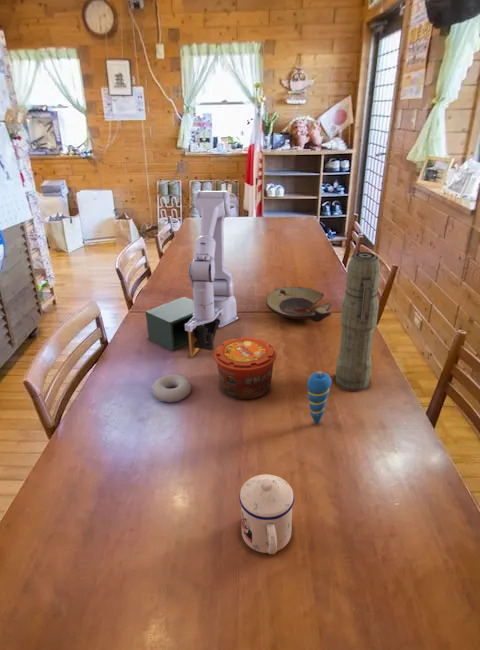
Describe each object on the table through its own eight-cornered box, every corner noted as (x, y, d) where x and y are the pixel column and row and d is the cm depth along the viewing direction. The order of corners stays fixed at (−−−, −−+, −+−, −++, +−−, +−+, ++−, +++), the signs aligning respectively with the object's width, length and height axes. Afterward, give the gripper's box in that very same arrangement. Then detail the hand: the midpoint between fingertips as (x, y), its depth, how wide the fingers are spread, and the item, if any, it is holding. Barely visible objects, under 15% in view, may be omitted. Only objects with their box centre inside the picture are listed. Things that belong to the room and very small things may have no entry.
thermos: (361, 368, 126) (374, 246, 111) (375, 393, 116) (393, 262, 101) (329, 370, 126) (339, 248, 111) (341, 395, 115) (354, 263, 100)
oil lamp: (319, 297, 172) (320, 278, 169) (342, 333, 145) (344, 311, 142) (261, 300, 171) (261, 281, 167) (273, 337, 144) (274, 315, 140)
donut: (187, 406, 112) (195, 382, 121) (186, 394, 111) (194, 372, 120) (148, 404, 113) (158, 381, 122) (146, 393, 112) (157, 370, 120)
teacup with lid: (238, 513, 83) (236, 464, 78) (287, 508, 83) (289, 460, 78) (244, 574, 72) (243, 522, 67) (300, 569, 73) (303, 517, 68)
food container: (202, 387, 119) (200, 351, 115) (244, 363, 130) (243, 330, 125) (247, 412, 109) (247, 374, 105) (288, 384, 120) (289, 348, 115)
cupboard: (210, 333, 147) (208, 306, 143) (172, 351, 137) (170, 322, 133) (185, 322, 155) (183, 296, 150) (148, 338, 144) (145, 311, 140)
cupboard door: (229, 335, 145) (228, 309, 141) (210, 359, 132) (209, 331, 128) (210, 333, 147) (209, 306, 143) (190, 356, 134) (187, 328, 130)
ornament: (329, 419, 106) (333, 365, 100) (325, 433, 102) (330, 377, 95) (307, 415, 108) (310, 361, 101) (303, 429, 103) (305, 373, 97)
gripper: (209, 290, 135) (211, 331, 141) (175, 307, 124) (179, 350, 130) (228, 296, 131) (229, 337, 137) (194, 313, 120) (197, 357, 126)
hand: (206, 344), depth 133 cm, fingers open, 3 cm apart
